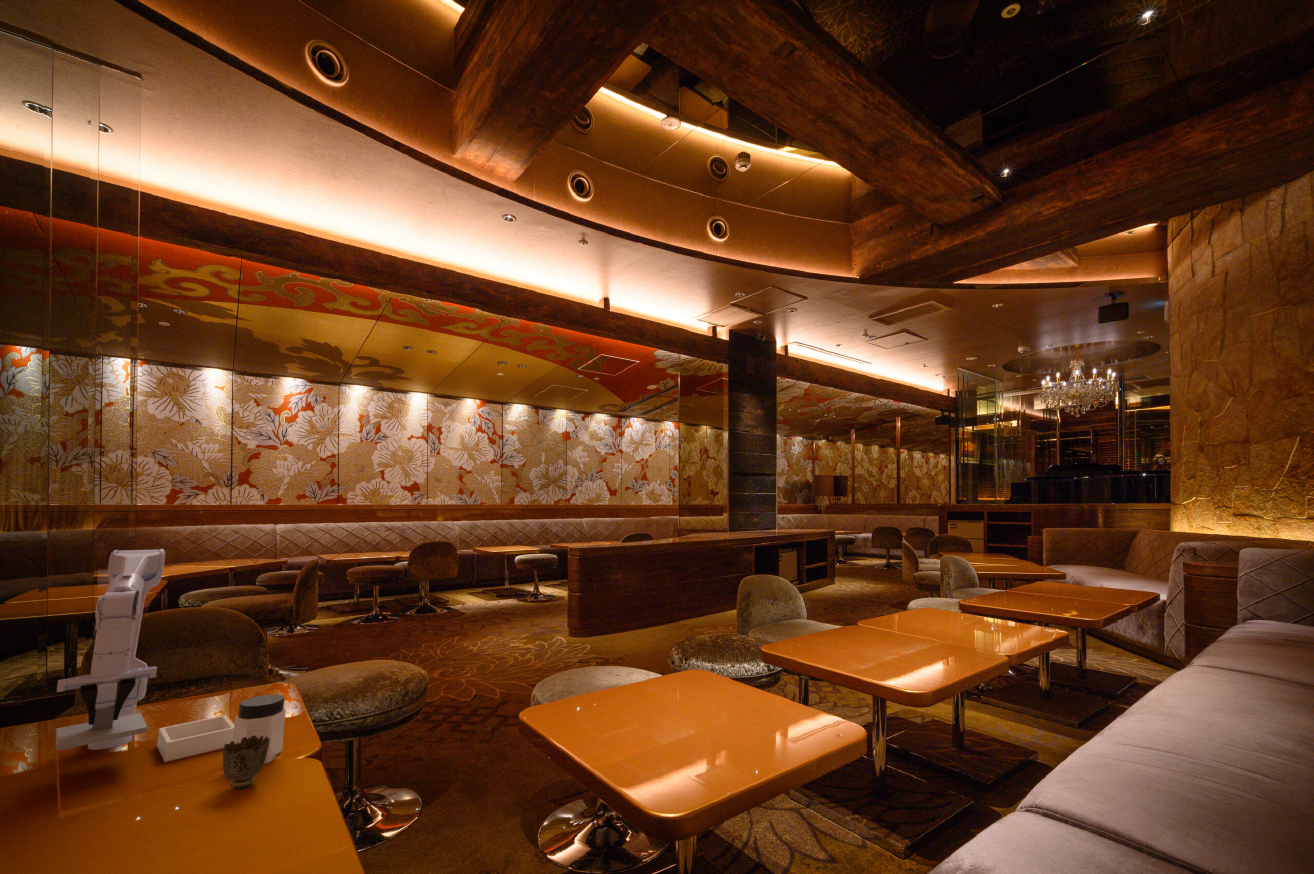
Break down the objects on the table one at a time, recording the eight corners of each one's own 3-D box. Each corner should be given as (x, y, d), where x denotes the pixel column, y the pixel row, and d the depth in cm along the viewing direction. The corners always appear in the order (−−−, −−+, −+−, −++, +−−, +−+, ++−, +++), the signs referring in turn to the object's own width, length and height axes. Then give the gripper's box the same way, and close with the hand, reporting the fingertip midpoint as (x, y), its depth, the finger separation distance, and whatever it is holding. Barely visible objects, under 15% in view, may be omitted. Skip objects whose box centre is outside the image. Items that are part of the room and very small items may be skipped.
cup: (228, 799, 102) (233, 753, 104) (210, 789, 106) (215, 744, 108) (273, 783, 109) (277, 739, 110) (255, 774, 113) (259, 732, 114)
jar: (228, 771, 114) (235, 709, 116) (231, 757, 121) (238, 698, 123) (281, 761, 119) (287, 701, 121) (281, 748, 126) (286, 691, 127)
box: (156, 749, 125) (159, 728, 125) (223, 734, 133) (225, 714, 134) (164, 765, 116) (166, 742, 117) (234, 748, 125) (236, 727, 126)
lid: (55, 733, 113) (59, 707, 114) (139, 717, 122) (143, 693, 123) (56, 750, 104) (60, 722, 105) (146, 732, 114) (150, 706, 114)
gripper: (62, 660, 108) (50, 736, 106) (161, 648, 118) (153, 716, 116) (61, 654, 112) (50, 726, 110) (157, 643, 123) (149, 708, 121)
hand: (103, 721), depth 113 cm, fingers closed on lid, 3 cm apart
